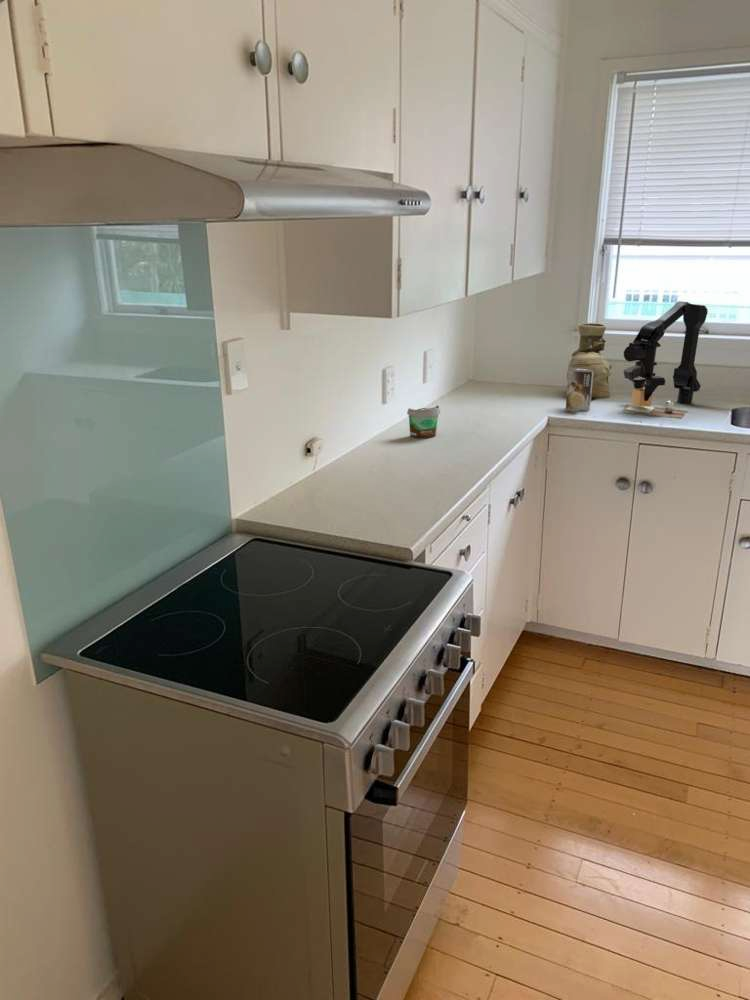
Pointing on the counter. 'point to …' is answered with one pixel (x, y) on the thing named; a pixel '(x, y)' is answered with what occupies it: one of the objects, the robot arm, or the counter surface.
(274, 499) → the counter surface
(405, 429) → the counter surface
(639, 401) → the box
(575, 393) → the coffee box
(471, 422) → the counter surface
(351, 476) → the counter surface
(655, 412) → the board
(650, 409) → the pad
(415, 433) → the food container
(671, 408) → the clear cylinder
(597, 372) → the ceramic vessel
